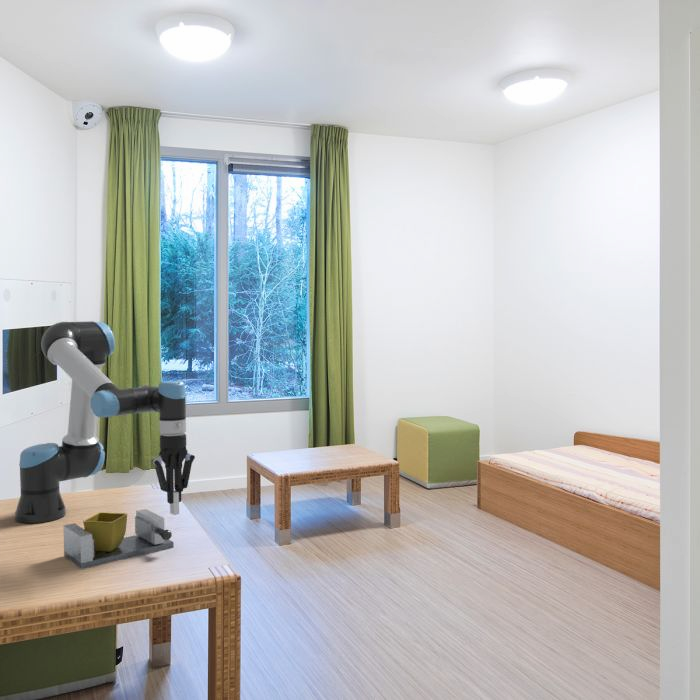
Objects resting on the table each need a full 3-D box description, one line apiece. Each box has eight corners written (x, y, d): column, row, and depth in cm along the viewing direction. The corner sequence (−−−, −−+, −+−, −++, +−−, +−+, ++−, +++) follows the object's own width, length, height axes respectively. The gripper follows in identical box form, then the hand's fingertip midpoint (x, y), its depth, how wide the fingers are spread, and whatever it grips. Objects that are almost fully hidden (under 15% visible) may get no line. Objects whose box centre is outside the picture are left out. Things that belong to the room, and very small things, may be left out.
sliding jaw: (134, 535, 201) (134, 511, 201) (146, 532, 204) (145, 509, 204) (161, 550, 188) (161, 525, 188) (174, 547, 190) (173, 522, 190)
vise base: (64, 556, 189) (63, 525, 189) (153, 536, 206) (153, 508, 206) (81, 568, 179) (80, 536, 179) (173, 547, 196) (173, 517, 196)
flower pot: (82, 553, 187) (82, 520, 186) (99, 543, 195) (99, 511, 195) (112, 555, 185) (112, 522, 185) (128, 544, 194) (128, 513, 193)
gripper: (157, 438, 195) (159, 520, 196) (199, 432, 203) (200, 512, 204) (146, 434, 200) (148, 515, 201) (187, 430, 209) (188, 507, 210)
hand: (174, 513), depth 203 cm, fingers closed
